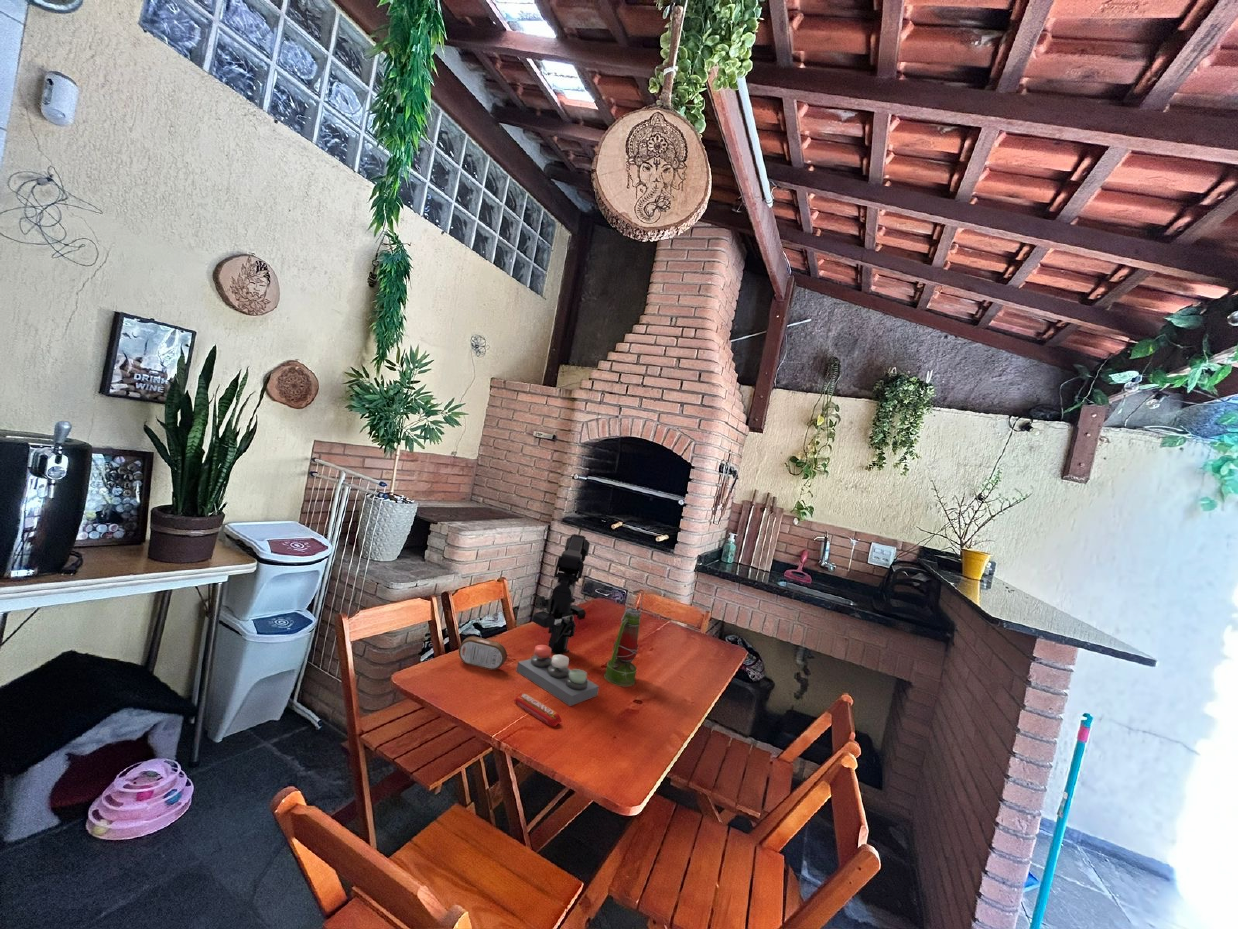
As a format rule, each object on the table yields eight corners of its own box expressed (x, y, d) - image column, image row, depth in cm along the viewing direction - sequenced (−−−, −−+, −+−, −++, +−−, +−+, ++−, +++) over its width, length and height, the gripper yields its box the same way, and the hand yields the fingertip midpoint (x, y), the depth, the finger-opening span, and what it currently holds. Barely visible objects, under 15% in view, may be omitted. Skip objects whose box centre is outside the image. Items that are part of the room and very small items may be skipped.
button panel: (544, 663, 174) (546, 650, 174) (597, 695, 159) (600, 681, 159) (516, 671, 165) (518, 657, 164) (569, 706, 150) (572, 691, 149)
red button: (542, 649, 170) (543, 643, 170) (553, 656, 167) (554, 650, 167) (530, 652, 166) (532, 646, 166) (541, 659, 163) (543, 653, 163)
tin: (504, 670, 164) (509, 643, 164) (501, 674, 161) (506, 647, 161) (459, 659, 166) (464, 633, 165) (455, 662, 162) (460, 636, 162)
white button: (559, 659, 165) (560, 653, 165) (571, 666, 162) (572, 660, 162) (547, 662, 161) (549, 656, 161) (559, 669, 158) (560, 663, 158)
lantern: (619, 690, 165) (637, 598, 164) (594, 676, 172) (611, 587, 171) (644, 680, 176) (661, 593, 175) (619, 667, 183) (636, 584, 182)
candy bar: (511, 703, 145) (513, 693, 145) (520, 700, 148) (522, 689, 148) (553, 730, 136) (555, 719, 136) (562, 726, 139) (564, 715, 139)
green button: (577, 674, 160) (578, 667, 160) (589, 681, 157) (590, 674, 157) (565, 677, 156) (566, 671, 156) (577, 685, 153) (578, 678, 153)
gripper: (565, 582, 176) (557, 627, 176) (524, 588, 161) (515, 637, 162) (590, 593, 169) (581, 640, 170) (550, 601, 154) (540, 652, 155)
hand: (554, 642), depth 164 cm, fingers closed
